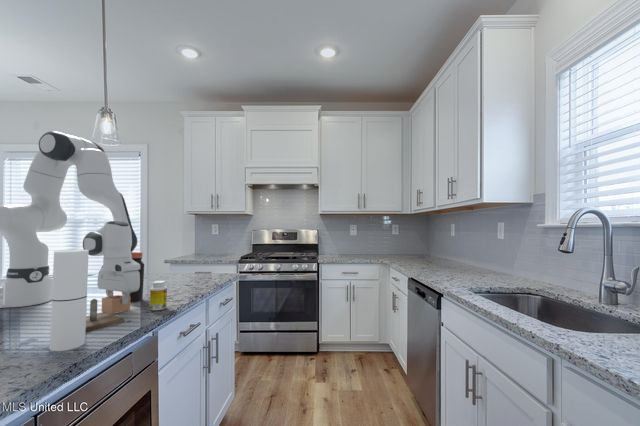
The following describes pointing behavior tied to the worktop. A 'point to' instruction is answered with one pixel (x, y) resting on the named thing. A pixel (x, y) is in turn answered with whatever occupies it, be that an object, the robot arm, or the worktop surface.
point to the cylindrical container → (69, 299)
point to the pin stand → (100, 318)
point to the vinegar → (139, 294)
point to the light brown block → (114, 304)
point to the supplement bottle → (158, 296)
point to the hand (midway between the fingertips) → (117, 302)
